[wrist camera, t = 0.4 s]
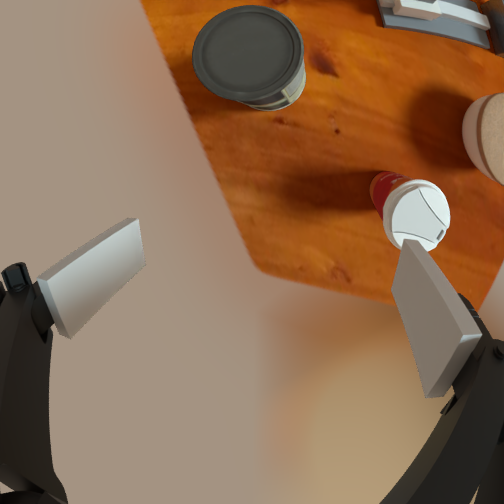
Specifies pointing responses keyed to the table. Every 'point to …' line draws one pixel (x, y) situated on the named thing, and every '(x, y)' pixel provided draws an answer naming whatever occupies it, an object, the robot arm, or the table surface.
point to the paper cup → (410, 209)
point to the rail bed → (443, 21)
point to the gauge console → (495, 23)
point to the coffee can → (251, 57)
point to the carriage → (417, 9)
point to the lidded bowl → (486, 135)
